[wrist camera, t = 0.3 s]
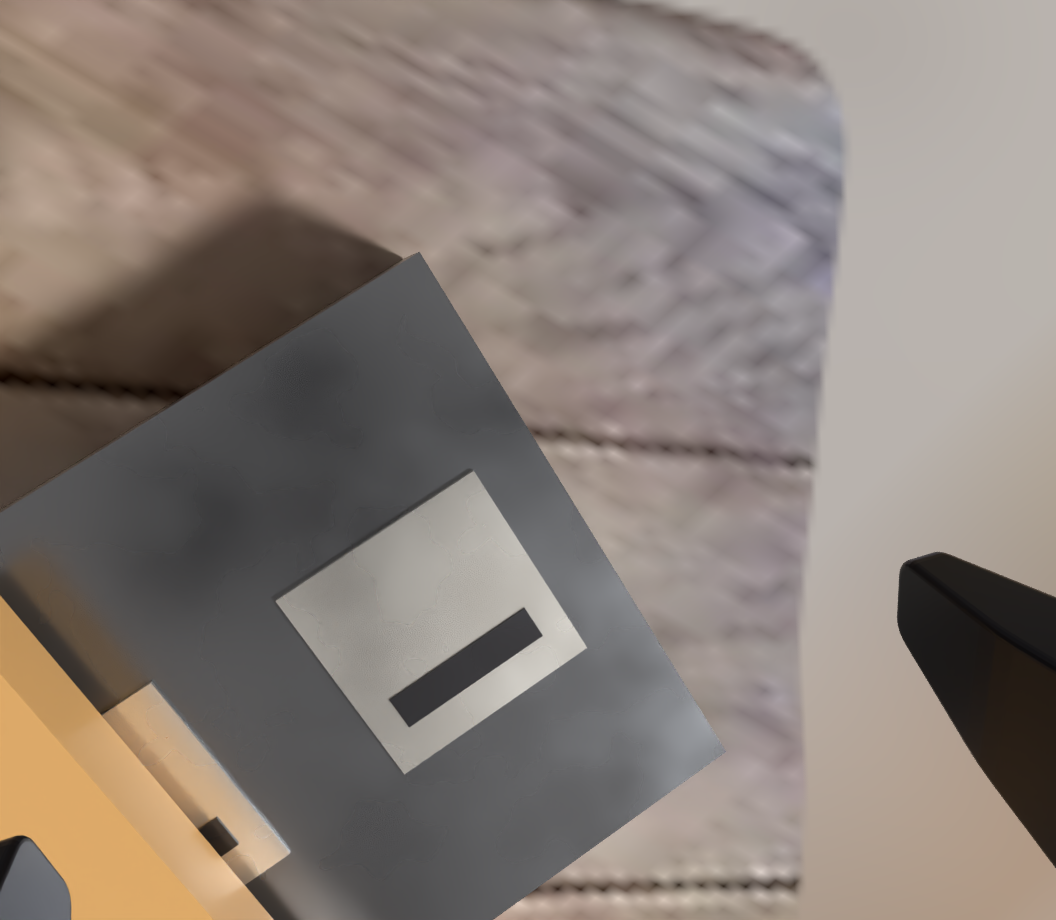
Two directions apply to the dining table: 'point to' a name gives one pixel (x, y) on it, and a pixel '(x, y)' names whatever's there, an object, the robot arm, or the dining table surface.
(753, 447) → the dining table surface
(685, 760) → the power supply unit
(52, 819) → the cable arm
